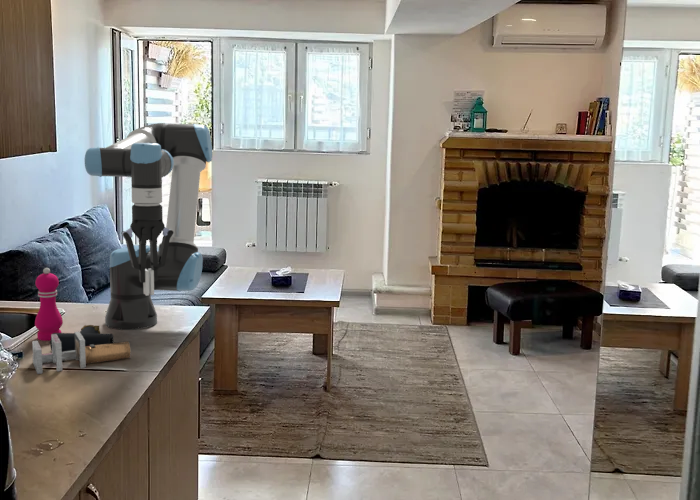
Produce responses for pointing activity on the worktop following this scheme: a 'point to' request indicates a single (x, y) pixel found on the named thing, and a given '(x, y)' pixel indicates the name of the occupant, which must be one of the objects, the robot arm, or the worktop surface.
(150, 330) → the worktop surface
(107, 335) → the pipe connector
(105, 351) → the tube
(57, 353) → the grey slatted rack
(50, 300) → the pepper mill
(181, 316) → the worktop surface
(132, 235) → the robot arm
